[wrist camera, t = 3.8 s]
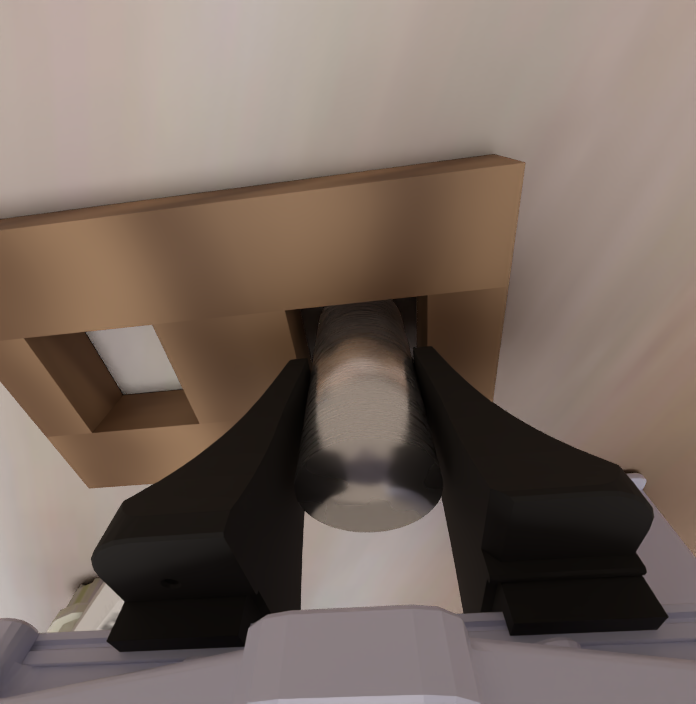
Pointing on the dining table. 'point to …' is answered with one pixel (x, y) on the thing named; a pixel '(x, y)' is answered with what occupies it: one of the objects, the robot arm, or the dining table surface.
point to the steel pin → (365, 425)
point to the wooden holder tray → (242, 297)
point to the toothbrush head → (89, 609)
